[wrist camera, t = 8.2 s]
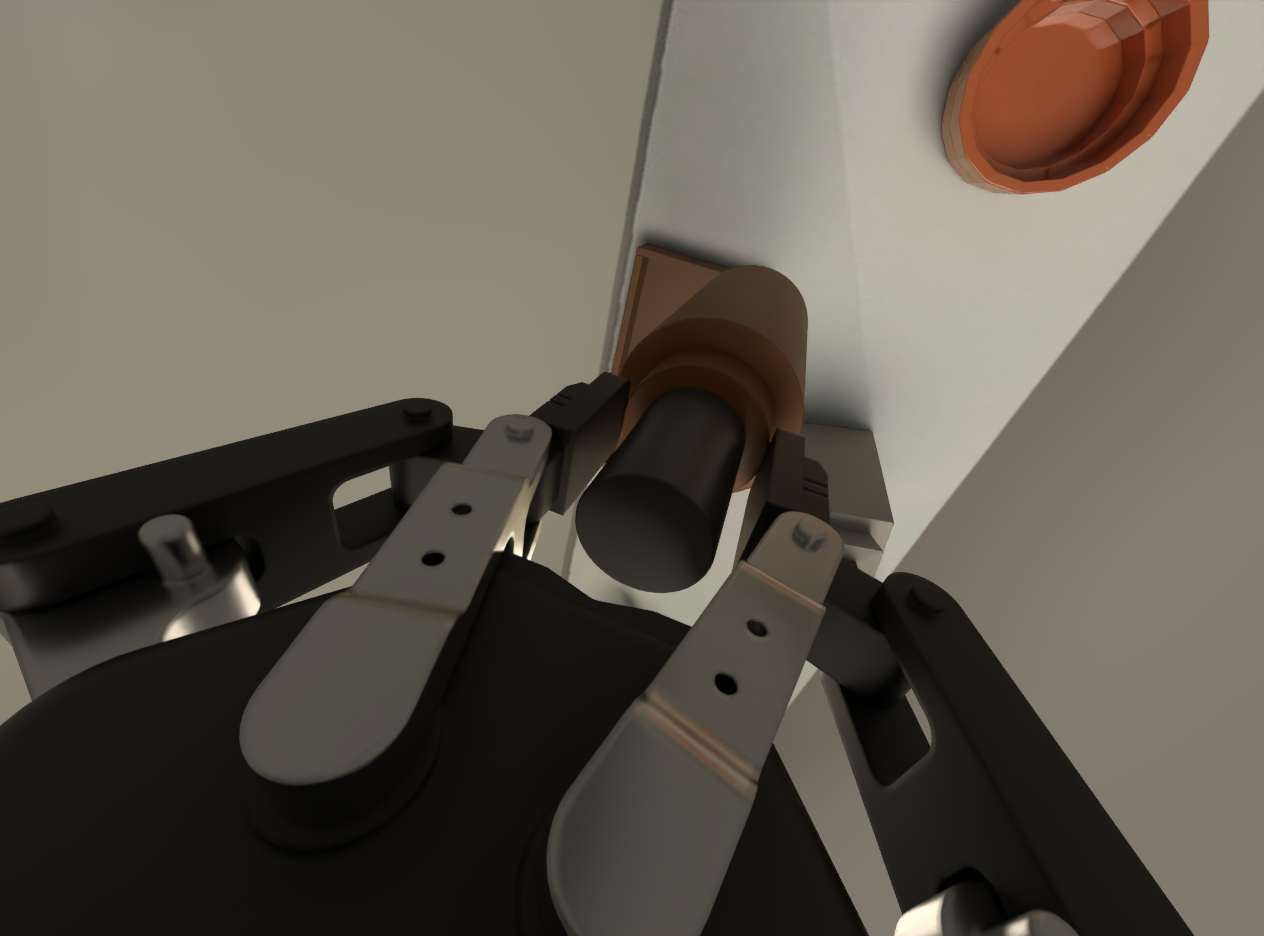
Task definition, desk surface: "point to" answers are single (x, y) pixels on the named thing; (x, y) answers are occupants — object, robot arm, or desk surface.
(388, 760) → the robot arm
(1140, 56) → the bowl
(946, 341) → the desk surface
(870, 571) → the perfume bottle
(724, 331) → the bottle
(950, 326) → the desk surface
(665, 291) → the tray
